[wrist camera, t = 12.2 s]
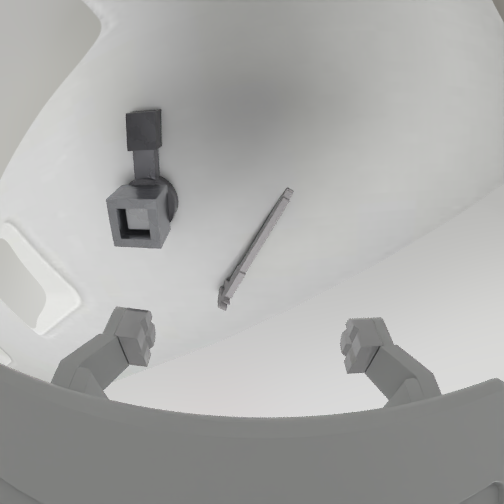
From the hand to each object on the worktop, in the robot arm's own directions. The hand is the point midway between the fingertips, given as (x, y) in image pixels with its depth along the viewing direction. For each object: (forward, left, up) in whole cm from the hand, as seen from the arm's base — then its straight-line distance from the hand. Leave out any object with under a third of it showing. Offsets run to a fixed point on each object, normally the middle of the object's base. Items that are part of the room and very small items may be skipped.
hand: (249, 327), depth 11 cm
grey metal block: (+7, -14, -27) cm, 31 cm away
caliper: (+14, +1, -30) cm, 32 cm away
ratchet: (+2, -14, -29) cm, 32 cm away
